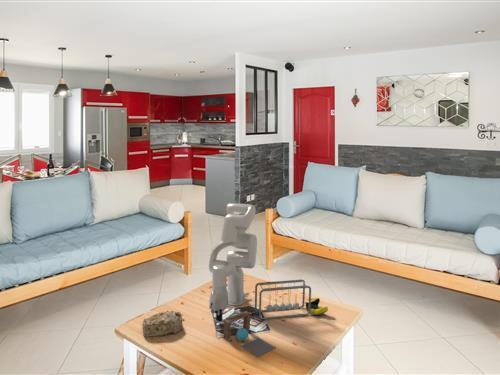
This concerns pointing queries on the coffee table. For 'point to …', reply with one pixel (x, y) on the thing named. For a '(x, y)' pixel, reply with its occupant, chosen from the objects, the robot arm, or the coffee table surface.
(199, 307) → the coffee table surface
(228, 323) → the bridge
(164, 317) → the rock
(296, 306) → the newton's cradle
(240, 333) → the ball
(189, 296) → the coffee table surface
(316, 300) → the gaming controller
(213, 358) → the coffee table surface
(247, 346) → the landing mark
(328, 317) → the coffee table surface
